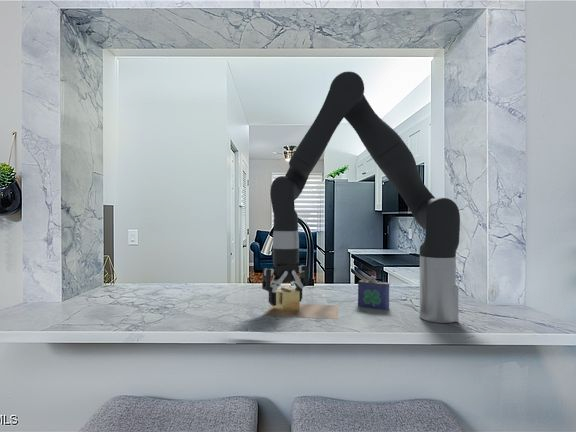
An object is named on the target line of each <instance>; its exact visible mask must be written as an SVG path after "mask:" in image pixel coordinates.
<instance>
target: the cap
mask: <svg viewBox="0 0 576 432" xmlns="http://www.w3.org/2000/svg"><path fill="white" fill-rule="evenodd" d="M275 292H276V306H273V309H274V310H277V311H279V312H281V313H287V312H293V311H299V310H300V304H301V302H300V291H298V290H295V288H291V287H281V288H277V290H276V291H275Z"/></svg>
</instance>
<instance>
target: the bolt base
mask: <svg viewBox="0 0 576 432" xmlns="http://www.w3.org/2000/svg"><path fill="white" fill-rule="evenodd" d="M339 308H340V306H339V305H331V304H309V303H307V304H306V303H300V310H299V311H293V312H287V313H281V312H279V311H277V310H274V309H273V306H272V305H271V304H270V306H269V308H268V309H267V310H266V311H265V312H264V314H263V315H262V316H266V317H269V316H270V317H288V318H306V319H328V320H331V319H332V320H339V312H340V311H339Z"/></svg>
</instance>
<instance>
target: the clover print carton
mask: <svg viewBox="0 0 576 432" xmlns="http://www.w3.org/2000/svg"><path fill="white" fill-rule="evenodd" d="M376 278H377V276H374V275H371V276H370V279H367V280H366V279H365V278H363V279H361V280H358V283H357V306H358V307H362V308H367V309H374V310H375V309H376V310H389V309H390V283H389V282H386V281H385V282H384V281H376Z"/></svg>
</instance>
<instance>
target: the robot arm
mask: <svg viewBox="0 0 576 432" xmlns="http://www.w3.org/2000/svg"><path fill="white" fill-rule="evenodd" d="M364 93H365V84H364V80H363V78H362V77H361V76H360V75H359V74H358V73H356V72H355V71H349V70H347V71H344V72H340V73H339V74H337V75H336V76H335V77H334V78H333V80H331V84H330V86H329V90H328V93H327V94H326V98H325V99H324V102H323V103H322V105H321V108H320V110H319V112H318V114H317V115H316V117H315V118H314V121H313V122H312V124H311V126H310V127H309V129H307V132H306V133H305V135H304V137H302V140H301V141H300V143H299V144H298V146H297V147H296V149H295V151H294V152H293V154H292V155H291V157H290V159H289V160H288V165H289V166H288V169H287V171H286V173H285V175H280V176H277V177H275V179H273V181H272V182H271V185H270V193H269V194H270V201H271V207H272V208H271V209H272V213H273V236H272V264H273V266H272V268H266V267H264V268H263V269H262V280H261V281H262V284H261V288H262V290H263V291H267V292H268V303H269V305H270V306H271V305H272V306H276V292H275V291H276V290H277V289H279V287H280V286H281V285H282V284H284V283H285V284H286V283H288V282H289V283H292V284H293V285H294V287H295V288H294V289H295V290H298V291H300V303H301V302H302V300H303V289H304V287H308V286H309V272H308V271H309V269H308V268H309V267H308V266H307V265H304V264H300V265H299V262H300V237H299V218H298V213H297V211H296V209H295V200H297V199H298V198H299V196H300V195H301V194H302V192H303V190H304V188H305V185H306V183H307V181H308V180H309V177H310V174H311V173H312V172H313V170H314V168H315V167H316V165H317V163H318V162H319V161H320V159H321V157H322V156H323V154H324V152H325V150H326V148H327V146H329V145H328V144H329V143H330V141H331V139H332V137H333V135H334V133H335V131H336V130H337V128H338V127H339V125H340V123H341V122H342V121H343V119H345V120H346V121H347V123H348V124H349V125H350V126H351V128H353V130H354V131H355V133H356V134H357V136H358V137H359V139H360V141H361V143H362V144H363V146H364V148H365V150H366V151H367V152H368V153H369V155H370V157H371V158H372V159H373V161H374V162H375V164H376V165H377V167H378V168H379V169H380V170H381V171H382V173H383V174H384V175H385V177H386V178H387V179H388V181H389V182H390V183H391V184H392V186H393V187H394V188H395V190H396V191H397V193H399V195H400V196H401V198H402V199H403V201H404V202H405V204H406V206H407V207H408V209H409V211H410V214H412V216H413V218H414V219H415V221H416V223H417V224H418V226H420V227H421V228H423V230H425V237H424V241H423V243H422V244H421V245H420V246H419V317H420V318H421V319H422V320H424V321H427V322H432V323H441V324H450V323H459V286H458V285H457V264H456V263H457V262H456V261H457V260H456V259H457V258H456V257H457V250H458V247H459V244H460V228H461V214H460V210H459V206H458V205H457V203H456V202H455V201H453V200H452V199H450V198H447V197H435V196H434V195H433V193H431V191H430V190H429V189H428V188H427V186H426V185H425V184H424V182H423V181H422V179H421V176H420V172H419V170H418V167H417V166H418V165H417V162H416V159H415V158H414V157H415V156H414V155H413V153H412V151H411V150H410V148H409V147H408V145H407V144H406V143H405V141H404V140H403V138H402V137H401V136H400V135H399V134H398V133H397V132H396V130H395V129H393V128H392V127H391V126H390V125H389V124H388V123H387V122H386V121H384V120H383V119H382V118H380V116H379V115H378V114H377V113H376V112H375V111H374V109H373V107H372V106H371V104H370V103H369V101H368V100H367V98H366V96H365V94H364ZM298 274H299V276H298ZM272 276H273V277H272Z"/></svg>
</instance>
